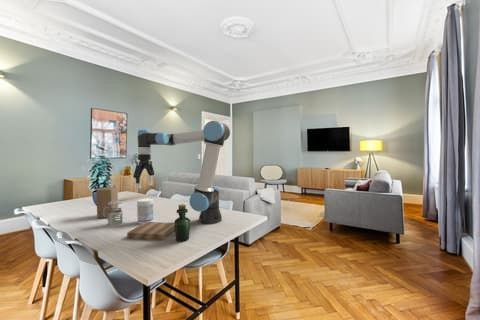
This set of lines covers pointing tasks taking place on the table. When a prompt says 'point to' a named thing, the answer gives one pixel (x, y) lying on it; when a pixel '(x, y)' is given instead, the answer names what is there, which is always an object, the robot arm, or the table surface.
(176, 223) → the potion bottle
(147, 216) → the supplement tub
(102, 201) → the block
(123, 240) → the table surface
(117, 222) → the french press
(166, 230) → the walnut base
